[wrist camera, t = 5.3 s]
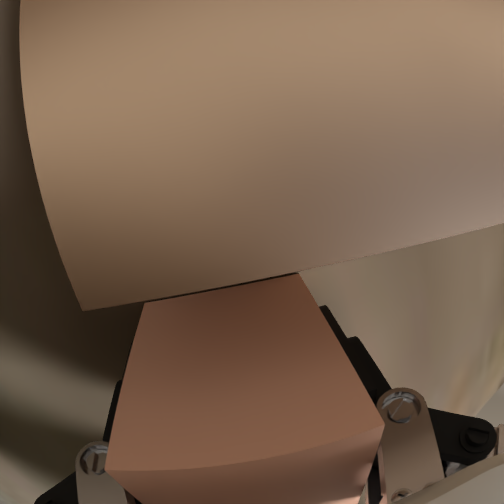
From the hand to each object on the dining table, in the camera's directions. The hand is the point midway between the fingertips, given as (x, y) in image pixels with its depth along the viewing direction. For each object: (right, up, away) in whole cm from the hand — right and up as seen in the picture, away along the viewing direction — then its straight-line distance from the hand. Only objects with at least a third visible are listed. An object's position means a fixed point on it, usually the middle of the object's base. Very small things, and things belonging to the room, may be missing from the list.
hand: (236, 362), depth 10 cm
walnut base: (+3, +12, -4) cm, 13 cm away
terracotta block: (0, 0, +1) cm, 1 cm away
